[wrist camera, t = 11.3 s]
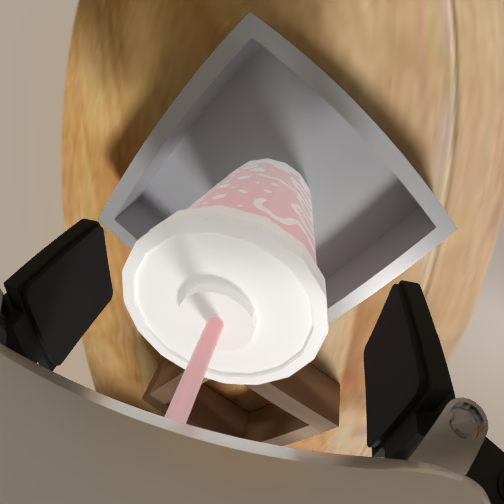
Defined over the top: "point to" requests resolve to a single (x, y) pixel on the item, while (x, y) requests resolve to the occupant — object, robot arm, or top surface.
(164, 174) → the tray
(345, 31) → the top surface
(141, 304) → the beverage cup
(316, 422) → the cup holder
